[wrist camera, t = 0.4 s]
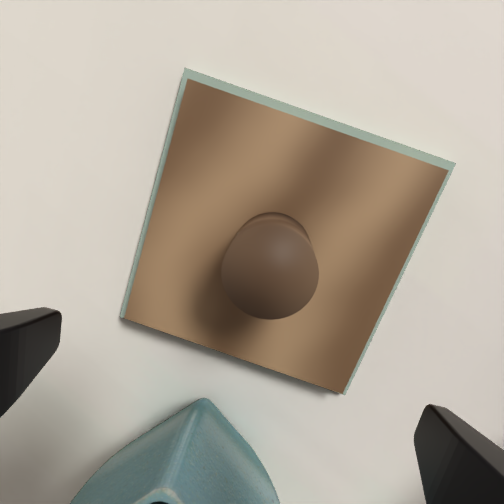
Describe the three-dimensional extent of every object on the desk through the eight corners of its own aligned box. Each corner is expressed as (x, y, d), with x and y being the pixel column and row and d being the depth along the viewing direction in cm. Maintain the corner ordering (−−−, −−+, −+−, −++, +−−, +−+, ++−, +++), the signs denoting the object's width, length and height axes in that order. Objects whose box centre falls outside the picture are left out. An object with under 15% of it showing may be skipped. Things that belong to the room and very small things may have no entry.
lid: (441, 169, 18) (497, 173, 13) (340, 385, 21) (356, 448, 17) (191, 81, 18) (159, 54, 13) (129, 312, 21) (87, 355, 17)
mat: (451, 163, 18) (456, 163, 18) (343, 390, 22) (345, 395, 21) (187, 70, 18) (184, 67, 18) (123, 313, 22) (119, 317, 21)
